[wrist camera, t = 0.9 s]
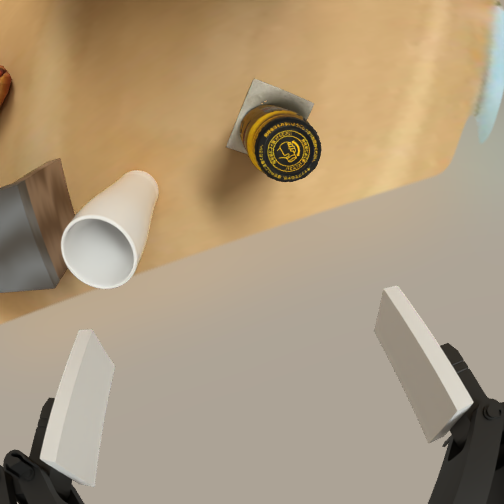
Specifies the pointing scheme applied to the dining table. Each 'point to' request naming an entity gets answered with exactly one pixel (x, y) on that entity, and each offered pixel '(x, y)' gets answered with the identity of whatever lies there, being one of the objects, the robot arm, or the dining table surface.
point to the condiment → (276, 133)
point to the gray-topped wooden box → (34, 229)
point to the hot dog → (4, 83)
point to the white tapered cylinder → (111, 232)
